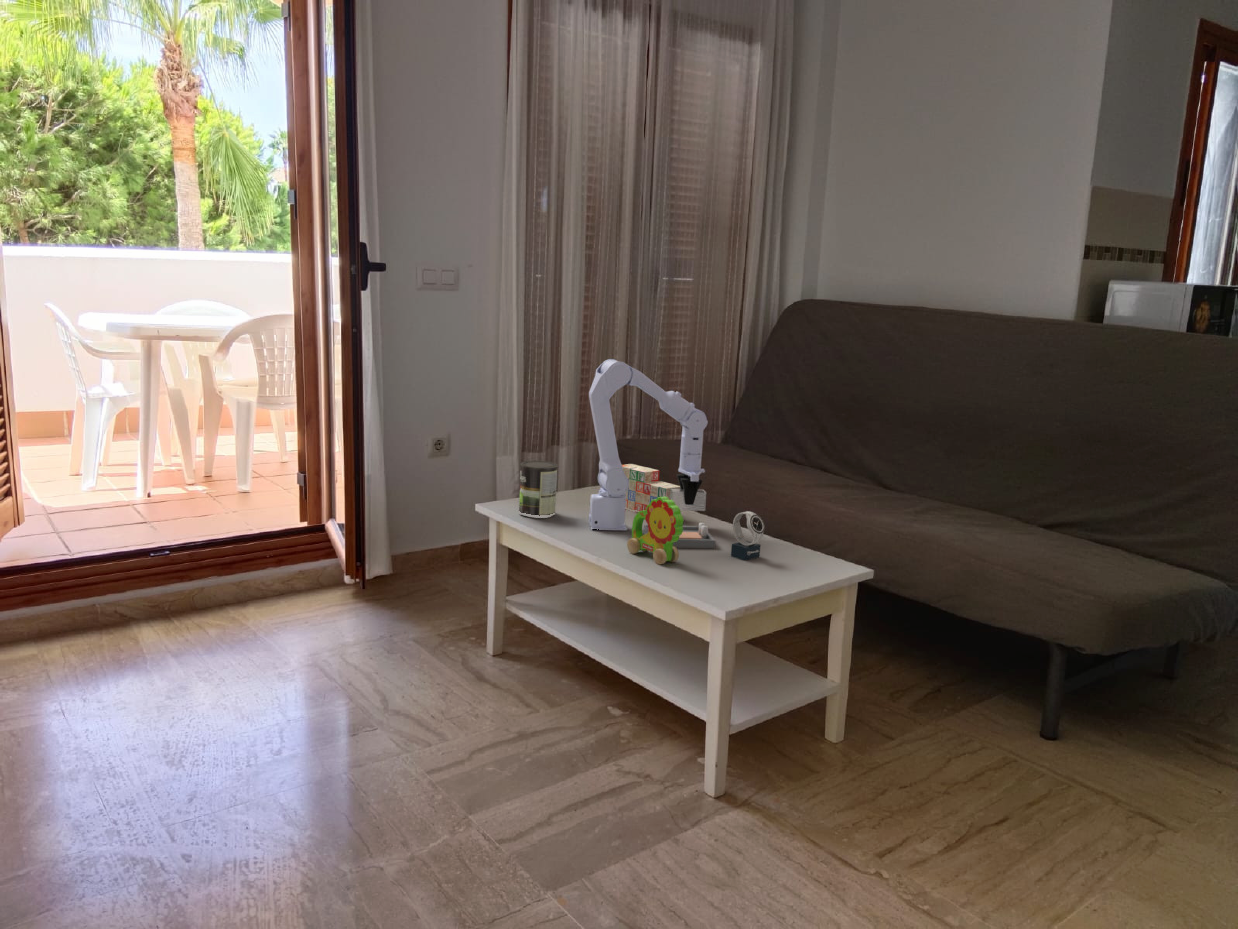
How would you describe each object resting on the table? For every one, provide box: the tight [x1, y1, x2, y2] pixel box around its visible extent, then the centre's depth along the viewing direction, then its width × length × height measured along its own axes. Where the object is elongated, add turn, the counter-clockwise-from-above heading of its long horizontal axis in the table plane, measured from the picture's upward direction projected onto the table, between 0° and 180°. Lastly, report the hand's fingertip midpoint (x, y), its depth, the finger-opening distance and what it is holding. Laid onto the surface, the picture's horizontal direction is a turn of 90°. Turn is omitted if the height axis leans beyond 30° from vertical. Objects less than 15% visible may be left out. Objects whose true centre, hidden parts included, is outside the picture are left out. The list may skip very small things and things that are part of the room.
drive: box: [670, 488, 707, 512], centre depth 247 cm, size 9×4×5 cm, turn 97°
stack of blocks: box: [622, 463, 680, 512], centre depth 262 cm, size 21×6×12 cm, turn 41°
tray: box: [642, 522, 716, 549], centre depth 233 cm, size 16×14×4 cm
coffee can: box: [518, 460, 559, 516], centre depth 252 cm, size 10×10×14 cm
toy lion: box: [626, 497, 684, 566], centre depth 214 cm, size 16×5×15 cm, turn 38°
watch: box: [730, 510, 766, 561], centre depth 220 cm, size 6×8×11 cm
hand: (687, 502), depth 247 cm, fingers closed on drive, 4 cm apart
